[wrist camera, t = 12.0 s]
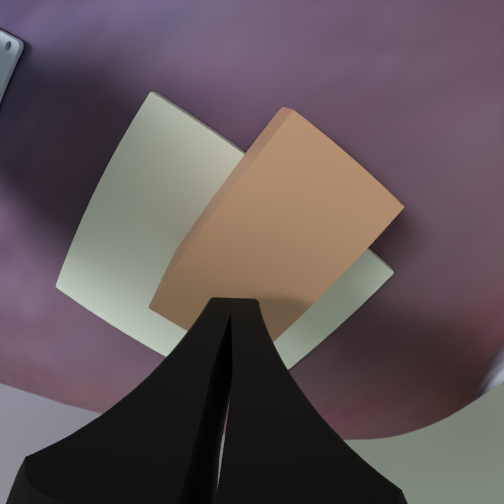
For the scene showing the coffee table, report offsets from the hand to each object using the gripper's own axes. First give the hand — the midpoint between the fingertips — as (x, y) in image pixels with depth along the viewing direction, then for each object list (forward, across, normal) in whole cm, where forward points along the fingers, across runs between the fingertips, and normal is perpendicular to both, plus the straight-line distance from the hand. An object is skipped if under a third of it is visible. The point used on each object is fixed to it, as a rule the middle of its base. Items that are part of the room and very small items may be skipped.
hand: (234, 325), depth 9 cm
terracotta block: (+4, +1, +2) cm, 4 cm away
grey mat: (+6, +2, +2) cm, 7 cm away
